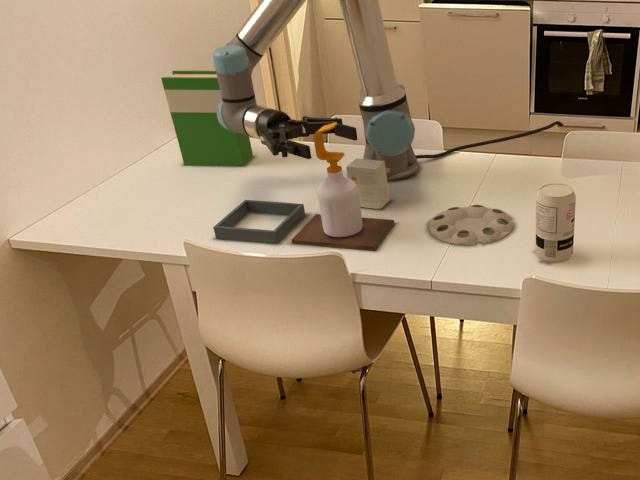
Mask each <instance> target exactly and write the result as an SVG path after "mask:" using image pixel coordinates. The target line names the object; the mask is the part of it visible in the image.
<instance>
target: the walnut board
mask: <svg viewBox="0 0 640 480" xmlns="http://www.w3.org/2000/svg"><path fill="white" fill-rule="evenodd" d="M395 221H396V220H395V219H386V218H375V217H374V218H373V217H362V223H363V227H362V230H361V231H360V232H358V233H356V234H354V235H352V236H348V237H332V236H329V235H327V234H325V232H324V230H323V225H322V219H321V213H315V214H314V216H313V217H311V219H310V220H309V221H308V222H307V223H306V224H305V225H304V226H303V227H302V228H301V229H300V230H299V231H298V233H296V234H295V236H294V237H293V238H292V239H291V244H292V245H304V246H314V247H325V248H326V247H327V248H338V249H350V250H362V251H373V252H375V251H377V249H378V247H379V246H380V245H381V243H382V242H383V241H384V239H385V238H386V236H387V235H388V234H389V232H390V231H391V229H392V228H393V227H394V226H395V224H396V222H395Z"/></svg>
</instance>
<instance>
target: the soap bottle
mask: <svg viewBox="0 0 640 480" xmlns="http://www.w3.org/2000/svg"><path fill="white" fill-rule="evenodd" d="M337 124H338V123H337V122H335V123H331V124H328V125H325V126H323V127H322V128H320V129H319V130H318V131H317V132H316V133H315V134H313V144H314V149H315V156H316V157H317V159H319V160H321V161H326V162H327V163H328V164H329V166H328V167H327V168H326V173H327V178H326V179H324V180H323V181H322V182H321V183H320V184H319V185H318V187H317V190H316V194H317V200H318V207H319V211H320V213H319V214H321V219H322V225H323V230H324V232H325V234H327V235H329V236H332V237H348V236H352V235H354V234H356V233H358V232H360V231H361V230H362V227H363V223H362V218H363V216H362V209H361V208H362V207H360V200H359V193H358V188H357V186H356V184H355V182H353V181H352V180H350V179H349V178H348V177H345V176H344V172H343V166H341V165H339V164H338V163H339V162H340V161H341V160H342V158H343V157H345V155H346V154H345V152H344V151H343V152H342V151H328V150H326V147H325V141H324V136H323V135H324V134H322V132H325V131H328V130H331V129H333V128H334V127H335V126H336V125H337Z"/></svg>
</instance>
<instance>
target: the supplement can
mask: <svg viewBox="0 0 640 480" xmlns="http://www.w3.org/2000/svg"><path fill="white" fill-rule="evenodd" d="M576 201H577V196H576V193H575V192H574V188H573V187H572V186H571V185H568V184H566V183H559V182H553V183H547V184H544V185H541V186H540V188H539V190H538V192H537V194H536V196H535V245H534V247H535V250H534V254H535V255H536V256H537V257H538V258H539V259H540V260H541V261H544V262H546V263H562V262H565V261H567V260H569V259H570V258H571V257H573V255H574V241H575V239H574V238H575V222H576Z"/></svg>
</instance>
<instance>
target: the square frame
mask: <svg viewBox="0 0 640 480" xmlns="http://www.w3.org/2000/svg"><path fill="white" fill-rule="evenodd" d="M249 213H252V214H264V215H265V214H267V215H280V216H287V217H286V218H285V219H283V221H281V222H280V223H279V225H277V227H276V228H275V229H274V230H271V229H260V228H249V227H247V228H246V227H235V225H237V224H238V223H239V222H240V221H241V220H242V219H244V217H245V216H247V215H248V214H249ZM305 217H306V210H305V204H304V203H297V202H296V203H295V202H294V203H293V202H281V201H269V200H257V199H256V200H254V199H244V200H243V201H242V202H240V203H239V204H238V205H237V206H236V207H235V208H234V209H232V210H231V211H230V212H229V213H228V214H226V216H225V217H223V218H222V219H221V220H219V221H218V222H217V223H216V224H215V225H214V226H213V227H212V228H213V233H214V235H215V240H224V241H225V240H226V241H237V242H249V243H261V244H270V245H271V244H272V245H279V243H281V241H283V239H284V238H285V237H286V236H287V235H288V234H289V233H290V232H291V231H292V230H293V229H294V228H295V227H296V226H297V225H298V224H299V223H300V222H301V221H302V220H303V218H305Z"/></svg>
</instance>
